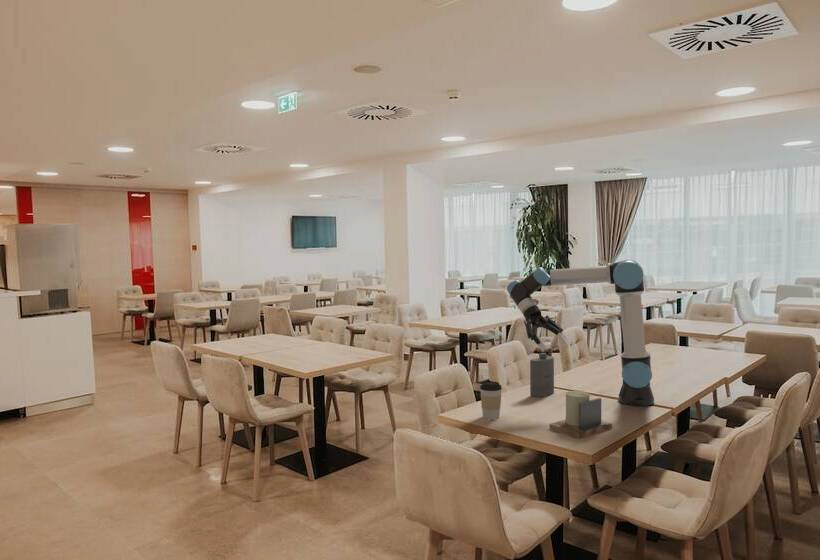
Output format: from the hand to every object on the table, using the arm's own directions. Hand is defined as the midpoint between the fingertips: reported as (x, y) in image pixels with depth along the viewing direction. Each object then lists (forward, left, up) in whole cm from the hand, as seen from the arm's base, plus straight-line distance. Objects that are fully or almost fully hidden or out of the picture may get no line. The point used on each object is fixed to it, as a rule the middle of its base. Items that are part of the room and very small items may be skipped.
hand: (555, 347), depth 248 cm
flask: (-16, -22, -28) cm, 39 cm away
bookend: (+10, +26, -26) cm, 38 cm away
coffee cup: (+28, -10, -28) cm, 41 cm away
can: (+10, +20, -26) cm, 34 cm away
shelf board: (+10, +22, -28) cm, 37 cm away
